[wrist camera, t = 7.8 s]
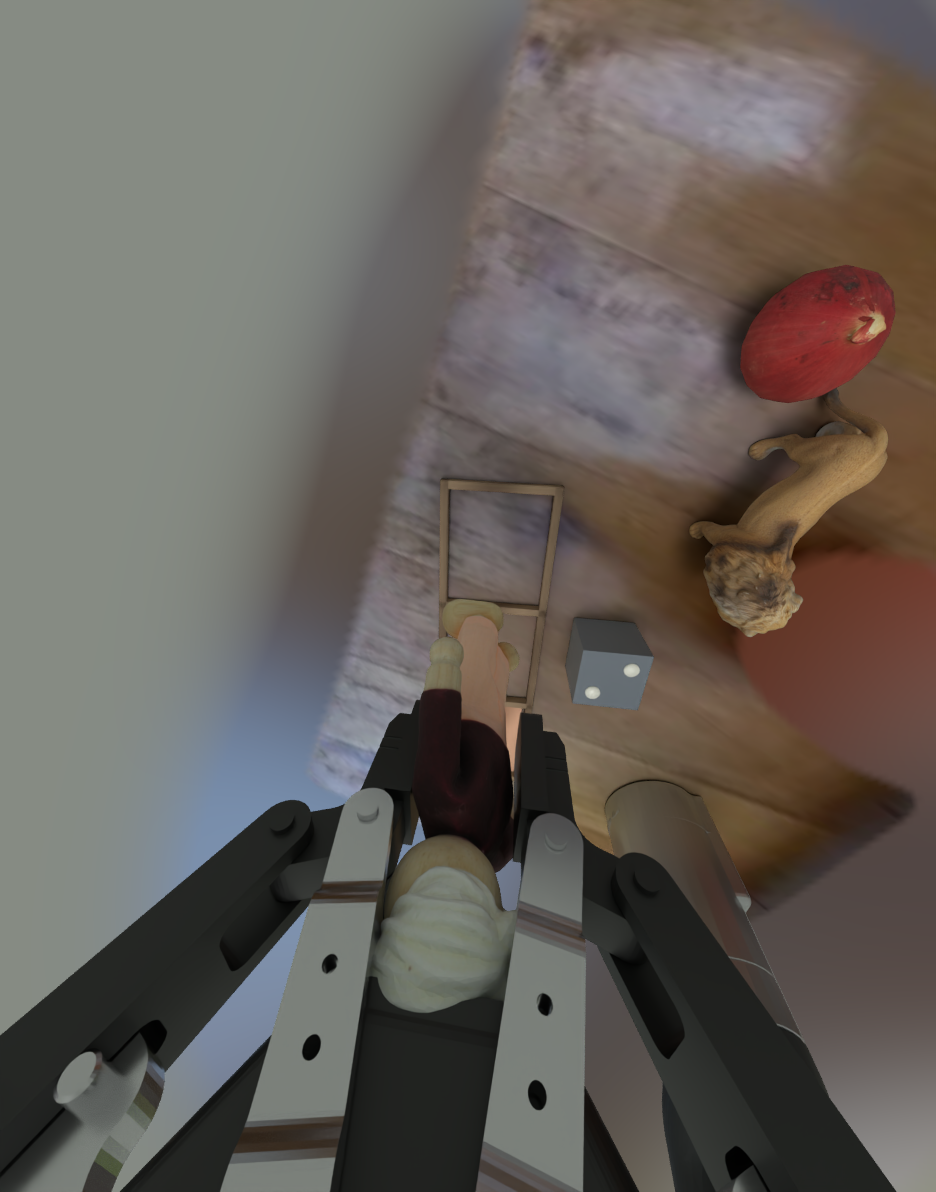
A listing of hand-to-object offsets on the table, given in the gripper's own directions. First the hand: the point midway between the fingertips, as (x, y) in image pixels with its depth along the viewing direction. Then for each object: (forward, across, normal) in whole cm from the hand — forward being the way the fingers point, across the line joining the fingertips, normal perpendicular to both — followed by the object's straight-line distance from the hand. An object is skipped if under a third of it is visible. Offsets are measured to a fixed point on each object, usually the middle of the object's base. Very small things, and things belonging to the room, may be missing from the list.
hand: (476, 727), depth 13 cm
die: (+19, -9, +8) cm, 23 cm away
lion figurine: (+20, -17, -5) cm, 27 cm away
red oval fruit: (+20, -15, -14) cm, 29 cm away
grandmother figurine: (+5, 0, 0) cm, 5 cm away
